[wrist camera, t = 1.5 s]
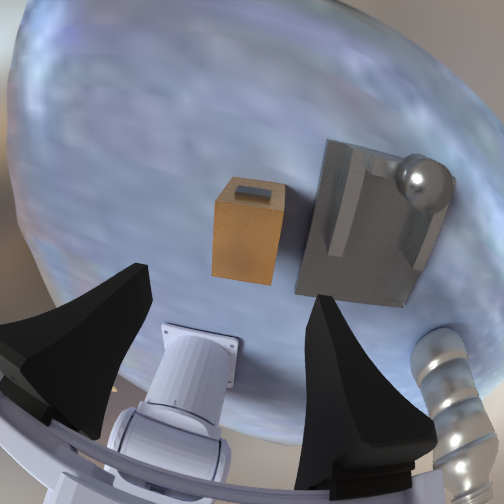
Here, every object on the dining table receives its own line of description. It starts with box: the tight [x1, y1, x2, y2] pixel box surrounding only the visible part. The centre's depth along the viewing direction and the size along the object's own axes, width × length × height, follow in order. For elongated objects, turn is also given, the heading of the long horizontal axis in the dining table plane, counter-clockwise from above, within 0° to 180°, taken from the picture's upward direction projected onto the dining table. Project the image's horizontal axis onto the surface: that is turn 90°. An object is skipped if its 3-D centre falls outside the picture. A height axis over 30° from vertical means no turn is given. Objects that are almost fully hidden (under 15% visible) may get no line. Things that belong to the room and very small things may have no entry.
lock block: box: [212, 177, 285, 286], centre depth 17 cm, size 5×4×5 cm
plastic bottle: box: [410, 328, 499, 504], centre depth 15 cm, size 6×7×20 cm
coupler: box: [295, 139, 456, 308], centre depth 16 cm, size 13×10×6 cm
